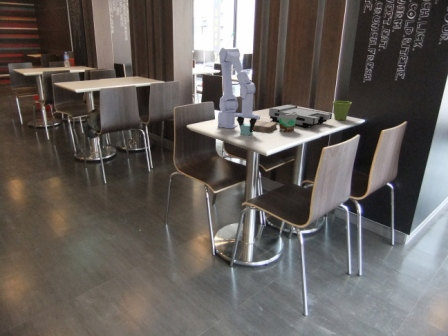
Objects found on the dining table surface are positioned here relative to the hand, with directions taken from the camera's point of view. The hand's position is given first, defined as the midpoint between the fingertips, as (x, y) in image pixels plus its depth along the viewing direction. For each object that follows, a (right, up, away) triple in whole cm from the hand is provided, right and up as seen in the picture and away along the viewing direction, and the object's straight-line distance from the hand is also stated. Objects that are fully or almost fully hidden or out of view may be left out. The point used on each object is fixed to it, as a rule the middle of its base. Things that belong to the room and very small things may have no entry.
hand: (246, 131), depth 187 cm
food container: (+25, +1, +7) cm, 26 cm away
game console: (+35, +8, +27) cm, 45 cm away
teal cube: (0, -1, +1) cm, 1 cm away
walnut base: (+10, +3, +11) cm, 16 cm away
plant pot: (+64, +11, +36) cm, 74 cm away
